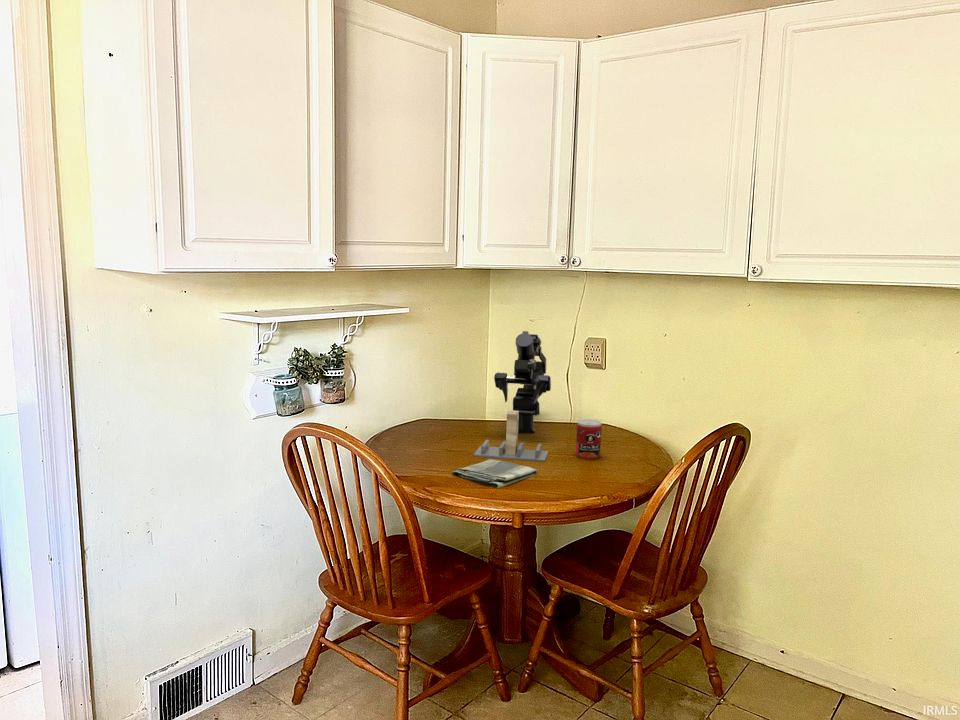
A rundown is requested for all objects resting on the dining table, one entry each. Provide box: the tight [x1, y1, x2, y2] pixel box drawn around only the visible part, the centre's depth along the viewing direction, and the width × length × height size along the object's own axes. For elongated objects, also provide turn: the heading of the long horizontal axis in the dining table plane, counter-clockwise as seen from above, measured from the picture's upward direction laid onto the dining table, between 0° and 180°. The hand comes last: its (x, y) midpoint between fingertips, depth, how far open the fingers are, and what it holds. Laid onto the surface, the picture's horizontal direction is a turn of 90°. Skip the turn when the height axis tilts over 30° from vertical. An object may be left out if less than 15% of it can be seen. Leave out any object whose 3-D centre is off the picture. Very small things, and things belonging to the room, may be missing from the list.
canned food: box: [575, 418, 603, 460], centre depth 227 cm, size 8×8×11 cm
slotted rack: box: [473, 439, 549, 463], centre depth 227 cm, size 10×22×3 cm, turn 79°
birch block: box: [505, 410, 519, 455], centre depth 226 cm, size 4×3×13 cm, turn 169°
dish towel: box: [451, 458, 539, 489], centre depth 207 cm, size 19×18×3 cm
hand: (519, 402), depth 239 cm, fingers open, 9 cm apart
